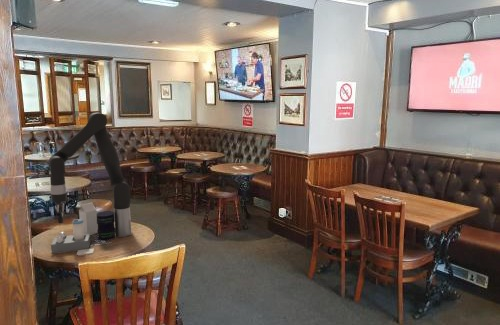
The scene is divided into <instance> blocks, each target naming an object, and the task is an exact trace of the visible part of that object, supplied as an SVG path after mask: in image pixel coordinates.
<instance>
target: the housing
mask: <svg viewBox="0 0 500 325" xmlns="http://www.w3.org/2000/svg"><path fill="white" fill-rule="evenodd" d="M91 243H92V242H91V235H90V233H89V234H84V239H83V240H74V234H70V235H65V239H63V243H59V244H57V236H54V238H53V240H52V242H51V244H50V248H51V249H50V250H51V254H59V253H68V252H76V251H77V252H78V250H84V249H90V244H91Z"/></svg>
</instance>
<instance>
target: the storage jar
mask: <svg viewBox="0 0 500 325" xmlns="http://www.w3.org/2000/svg"><path fill="white" fill-rule="evenodd" d="M96 215H97V226H98V230H97V232H98V233H97V239H98V240H99V241H103V242H104V241H111V240H113V239H115V238H116V235H115V219H114V211H112V210H111V211H109V210H107V211H105V210H104V211H100V212H97V214H96Z"/></svg>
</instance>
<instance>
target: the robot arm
mask: <svg viewBox="0 0 500 325" xmlns="http://www.w3.org/2000/svg"><path fill="white" fill-rule="evenodd" d="M107 124H108V118H107V116H106V114H104V113H101V112H92V113H91V114H90V115H89V116H88V118H87V123H86V125H84V127H83V128H81V129H80V131H78V132H77V133H76V134H75V135H73V136H72V137H71V138H70V139H69V140H68V141H67V142H66V143H65V144H64V145H63V146H62V147H61V148H60V149H58V150H57V151H56V152H55V153H54V154H53V155H51V156H50V158H49V159H48V165H49V169H50V178H49V180H50V199H51V200H50V201H51V203H52V202H53V203H55V205H54V212H55V214H56V217H57V221H58V222H57V223H58V224H63V223H64V218H63V217H64V214H65V212H64V210H65V203H64V202H65V201H67V200H68V195H67V186H66V178H65V173H66V172H65V170H66V169H65V168H66V165H65V162H66V161H68V159H69V158H72V157H73V156H74V155H75V154H76V153H78V151H80V149H81V148H82V147H83V146H84V145H85V144H86V142H88V141H89V140H90V139H91V138H92V137H93V136H94V138H95V141H96V146H97V149H98V153H99V155H100V159H101V162H102V164H103V165H104V168H105V171H106V173H107V174H108V177H109V180H110V186H111V190H112V193H113V212H114V220H115V222H114V227H115V237H116V238H125V237H130V236H132V221H131V220H132V218H131V187H130V185H129V184H128V183H127V182H126V180H125V178H124V176H123V174H122V169H121V163H120V158H119V154H118V152H117V148H116V147H115V145H114V142H113V141H112V139H111V138H110V136H109V134H108V133H109V132H108V130H107Z"/></svg>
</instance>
